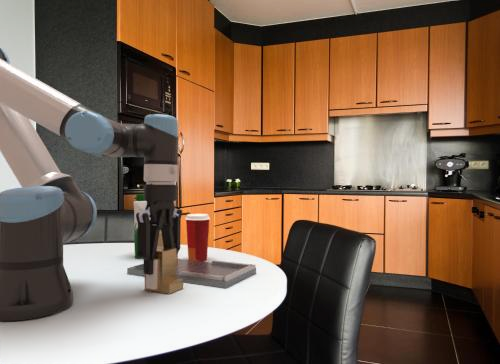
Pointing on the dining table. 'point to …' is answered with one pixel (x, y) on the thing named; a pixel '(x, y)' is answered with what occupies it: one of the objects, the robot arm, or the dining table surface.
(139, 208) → the milk carton
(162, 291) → the upright wooden block
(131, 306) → the dining table surface
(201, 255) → the paper cup
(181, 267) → the gray tray with block
